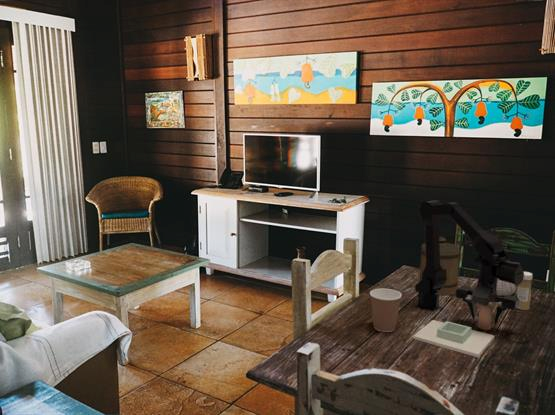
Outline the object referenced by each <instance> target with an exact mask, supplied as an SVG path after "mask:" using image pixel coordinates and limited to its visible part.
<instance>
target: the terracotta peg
mask: <svg viewBox="0 0 555 415" xmlns="http://www.w3.org/2000/svg"><path fill="white" fill-rule="evenodd" d="M478 305H479V307H478V320H477V328H479V329H481V330H484V331H488V330H491V329H492V321H493V320H492V319H493V318H492V317H493V306H494V304H492V303H490V302H489V304H488V305H487V306H484V305H482V304H478Z"/></svg>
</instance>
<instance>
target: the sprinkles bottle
mask: <svg viewBox="0 0 555 415" xmlns="http://www.w3.org/2000/svg"><path fill="white" fill-rule="evenodd" d="M523 272H524V277H523V280H522V282H521V283H520V284H519V285H517V293H516V297H518V298H519V305H518V306H517V308H516V309H519V310H520V311H521V310H522V311H529V310H530V309H531V308H530V304H531V294H532V293H531V291H532V280H533V276H534V275H533V273H532V272H529V271H523Z"/></svg>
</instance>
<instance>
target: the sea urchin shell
mask: <svg viewBox="0 0 555 415" xmlns="http://www.w3.org/2000/svg"><path fill="white" fill-rule="evenodd" d="M516 289H517V287H516V285H515V284H512V283H508V282H504V281H501V280H499V279H498V282H497V296H499V297H504V296H505V295H511V296H512V295H513V294H515V292H516Z"/></svg>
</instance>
